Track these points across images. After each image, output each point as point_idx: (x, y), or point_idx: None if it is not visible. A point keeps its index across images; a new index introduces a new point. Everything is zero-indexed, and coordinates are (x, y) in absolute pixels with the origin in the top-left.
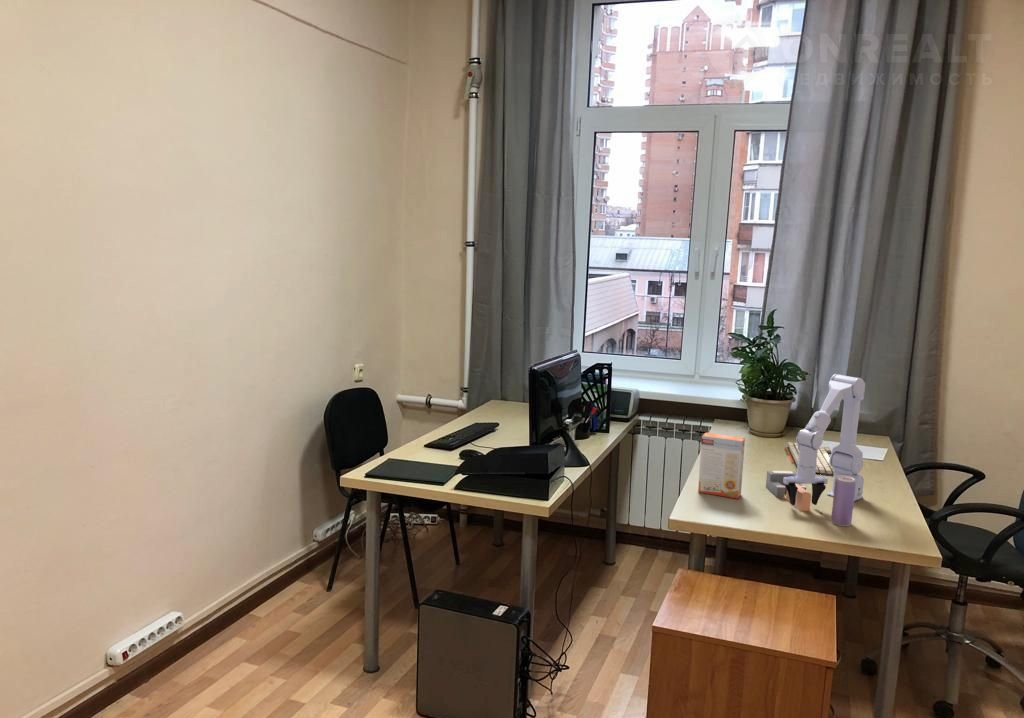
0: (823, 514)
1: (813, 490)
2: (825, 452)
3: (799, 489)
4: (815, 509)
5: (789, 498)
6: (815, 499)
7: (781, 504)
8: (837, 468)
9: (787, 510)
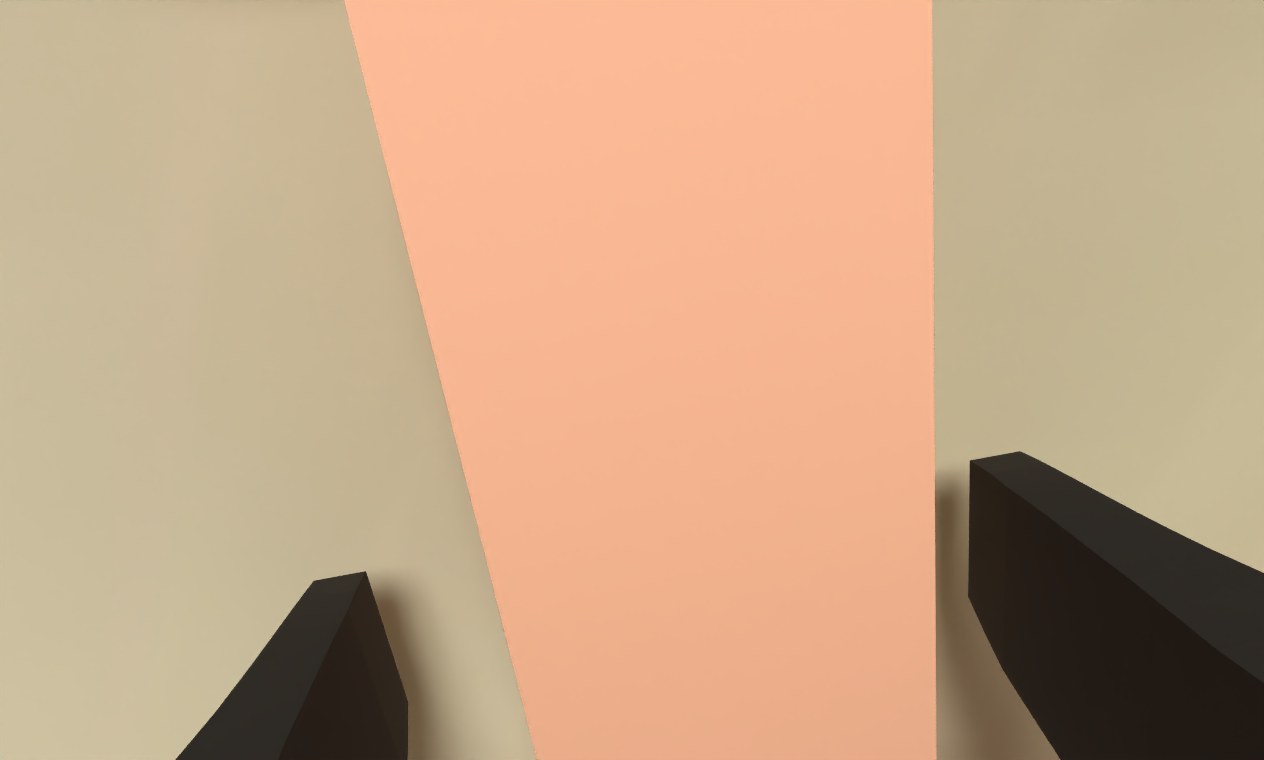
0: (988, 728)
1: (1220, 753)
2: None
3: (678, 666)
4: (964, 495)
5: (255, 670)
6: (1049, 718)
7: (136, 286)
8: None
9: (243, 667)
